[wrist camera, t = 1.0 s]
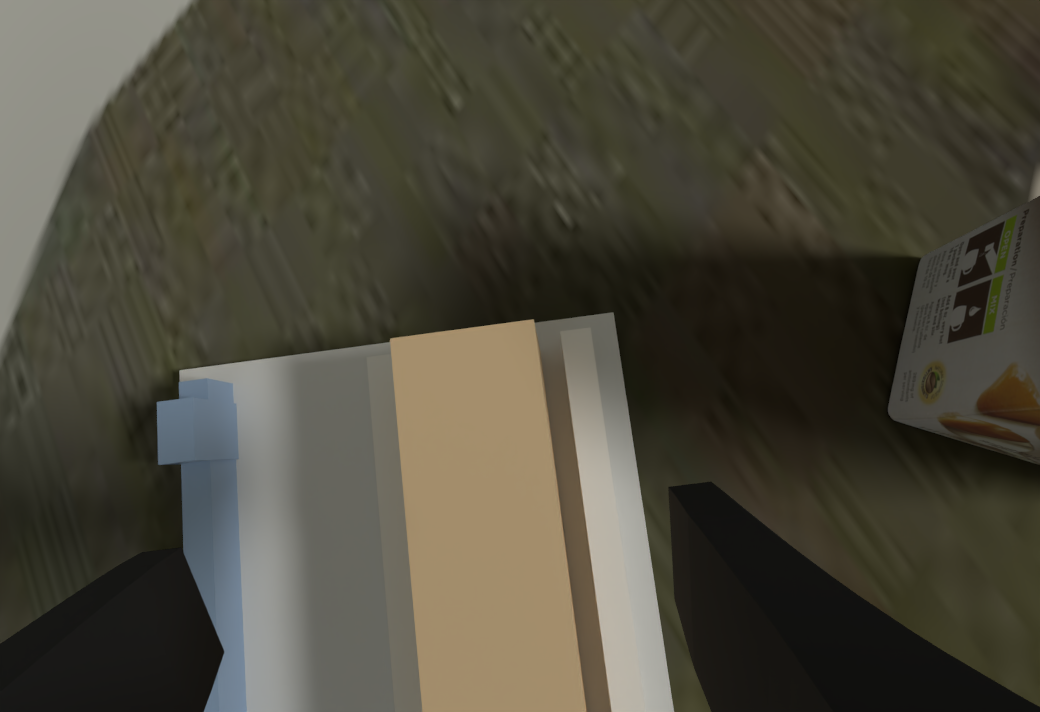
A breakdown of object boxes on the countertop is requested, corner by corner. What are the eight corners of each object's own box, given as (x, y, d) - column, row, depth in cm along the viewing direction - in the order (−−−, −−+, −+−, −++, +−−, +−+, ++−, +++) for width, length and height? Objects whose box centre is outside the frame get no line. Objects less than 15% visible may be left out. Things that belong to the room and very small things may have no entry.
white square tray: (684, 798, 19) (708, 866, 16) (203, 844, 20) (137, 916, 17) (612, 315, 22) (620, 293, 19) (189, 372, 23) (129, 359, 20)
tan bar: (595, 782, 19) (608, 899, 14) (471, 794, 19) (439, 913, 14) (540, 350, 21) (533, 319, 16) (429, 364, 21) (389, 338, 17)
